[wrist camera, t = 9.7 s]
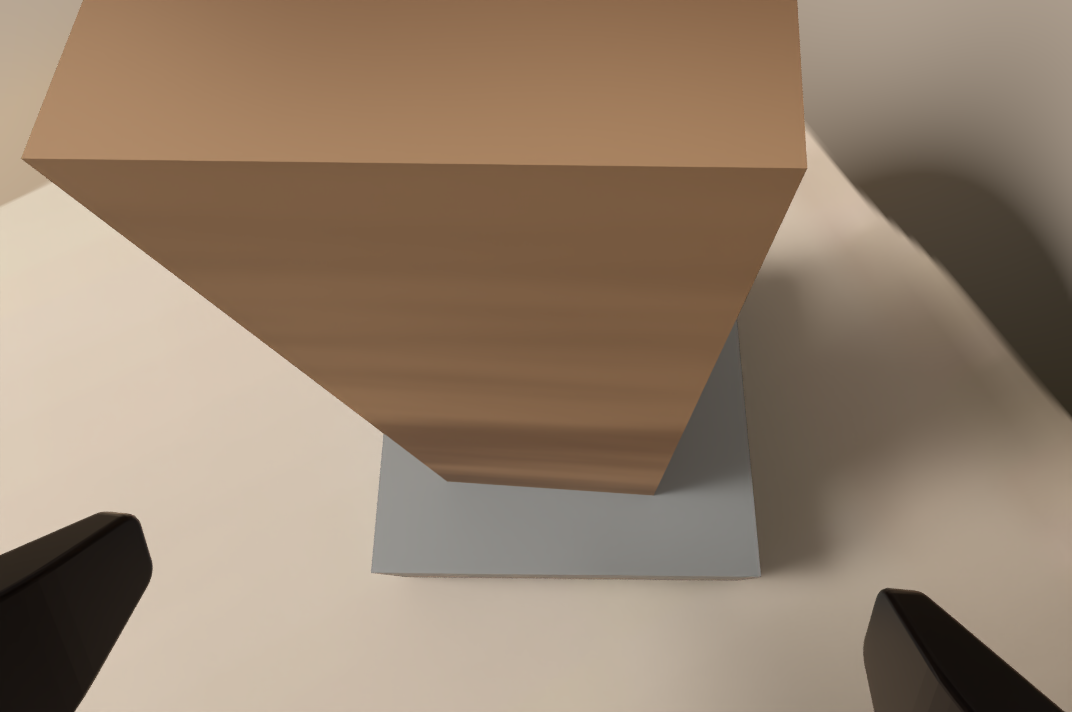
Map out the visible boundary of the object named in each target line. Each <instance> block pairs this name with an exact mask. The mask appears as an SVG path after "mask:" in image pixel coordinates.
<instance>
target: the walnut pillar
mask: <svg viewBox="0 0 1072 712" xmlns="http://www.w3.org/2000/svg"><path fill="white" fill-rule="evenodd" d="M801 75H802V74H801V58H800V41H799V24H798V7H797V0H83V2H82V5H81V7H80V10H79V12H78V15H77V17H76V20H75V22H74V25H73V27H72V30H71V33H70V35H69V38H68V40H67V43H66V45H65V48H64V51H63V53H62V55H61V58H60V61H59V63H58V66H57V68H56V71H55V73H54V76H53V78H52V81H51V84H50V86H49V89H48V91H47V94H46V97H45V99H44V101H43V104H42V107H41V109H40V112H39V114H38V117H37V119H36V122H35V124H34V127H33V129H32V132H31V135H30V137H29V140H28V142H27V145H26V148H25V150H24V153H23V155H22V158H21V159H22V160H24V161H25V162H26V163H28V164H29V165H31V166H32V167H33V168H34V169H36V170H37V171H39V172H40V173H41V174H42V175H44V176H45V177H46V178H48V179H49V180H50V181H51V182H53V183H54V184H55V185H57V186H58V187H59V188H61V189H62V190H63V191H65V192H66V193H67V194H69V195H70V196H71V197H73V198H74V199H75V200H77V201H78V202H79V203H80V204H82V205H83V206H84V207H86V208H87V209H88V210H90V211H91V212H92V213H94V214H95V215H96V216H98V217H99V218H100V219H102V220H103V221H104V222H106V223H107V224H108V225H109V226H111V227H112V228H113V229H115V230H116V231H117V232H119V233H120V234H121V235H123V236H124V237H125V238H127V239H128V240H129V241H131V242H132V243H133V244H135V245H136V246H137V247H138V248H140V249H141V250H142V251H144V252H145V253H146V254H148V255H149V256H150V257H152V258H153V259H154V260H156V261H157V262H158V263H160V264H161V265H162V266H164V267H165V268H166V269H168V270H169V271H170V272H171V273H173V274H174V275H175V276H177V277H178V278H179V279H181V280H182V281H183V282H185V283H186V284H187V285H189V286H190V287H191V288H193V289H194V290H195V291H197V292H198V293H199V294H200V295H202V296H203V297H204V298H206V299H207V300H208V301H210V302H211V303H212V304H214V305H215V306H216V307H218V308H219V309H220V310H222V311H223V312H224V313H226V314H227V315H228V316H229V317H231V318H232V319H233V320H235V321H236V322H237V323H239V324H240V325H241V326H243V327H244V328H245V329H247V330H248V331H249V332H251V333H252V334H253V335H255V336H256V337H257V338H259V339H260V340H261V341H262V342H264V343H265V344H266V345H268V346H269V347H270V348H272V349H273V350H274V351H276V352H277V353H278V354H280V355H281V356H282V357H284V358H285V359H286V360H288V361H289V362H290V363H291V364H293V365H294V366H295V367H297V368H298V369H299V370H301V371H302V372H303V373H305V374H306V375H307V376H309V377H310V378H311V379H313V380H314V381H315V382H317V383H318V384H319V385H320V386H322V387H323V388H324V389H326V390H327V391H328V392H330V393H331V394H332V395H334V396H335V397H336V398H338V399H339V400H340V401H342V402H343V403H344V404H346V405H347V406H348V407H350V408H351V409H352V410H353V411H355V412H356V413H357V414H359V415H360V416H361V417H363V418H364V419H365V420H367V421H368V422H369V423H371V424H372V425H373V426H375V427H376V428H377V429H379V430H380V431H381V432H382V433H384V434H385V435H386V436H388V437H389V438H390V439H392V440H393V441H394V442H396V443H397V444H398V445H400V446H401V447H402V448H404V449H405V450H406V451H408V452H409V453H410V454H411V455H413V456H414V457H415V458H417V459H418V460H419V461H421V462H422V463H423V464H425V465H426V466H427V467H429V468H430V469H431V470H433V471H434V472H435V473H437V474H438V475H439V476H440V477H442V478H443V479H444V480H446V481H447V482H461V483H476V484H491V485H506V486H520V487H535V488H550V489H564V490H579V491H594V492H609V493H623V494H638V495H653V496H654V494H655V491H656V489H657V487H658V485H659V483H660V481H661V479H662V477H663V474H664V472H665V470H666V468H667V466H668V464H669V462H670V460H671V457H672V455H673V453H674V451H675V449H676V447H677V445H678V442H679V440H680V438H681V436H682V434H683V432H684V430H685V428H686V425H687V423H688V421H689V419H690V417H691V415H692V413H693V410H694V408H695V406H696V404H697V402H698V400H699V398H700V396H701V393H702V391H703V389H704V387H705V385H706V383H707V381H708V379H709V376H710V374H711V372H712V370H713V368H714V366H715V364H716V361H717V359H718V357H719V355H720V353H721V351H722V349H723V347H724V344H725V342H726V340H727V338H728V336H729V334H730V332H731V329H732V327H733V325H734V323H735V321H736V319H737V317H738V315H739V312H740V310H741V308H742V306H743V304H744V302H745V300H746V298H747V295H748V293H749V291H750V289H751V287H752V285H753V283H754V280H755V278H756V276H757V274H758V272H759V270H760V268H761V266H762V263H763V261H764V259H765V257H766V255H767V253H768V251H769V248H770V246H771V244H772V242H773V240H774V238H775V236H776V234H777V231H778V229H779V227H780V225H781V223H782V221H783V219H784V217H785V214H786V212H787V210H788V208H789V206H790V204H791V202H792V199H793V197H794V195H795V193H796V191H797V189H798V187H799V185H800V182H801V180H802V178H803V176H804V174H805V172H806V170H807V158H806V141H805V124H804V107H803V91H802V76H801Z"/></svg>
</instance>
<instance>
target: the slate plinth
mask: <svg viewBox="0 0 1072 712" xmlns="http://www.w3.org/2000/svg"><path fill="white" fill-rule="evenodd" d="M371 573H377V574H386V575H394V576H402V577H460V578H553V579H645V580H743V579H750V578H756V577H761V571H760V560H759V549H758V539H757V528H756V517H755V507H754V496H753V485H752V475H751V464H750V454H749V443H748V432H747V422H746V411H745V400H744V390H743V379H742V368H741V358H740V347H739V336H738V326H737V319H736V321H735V323H734V325H733V327H732V329H731V332H730V334H729V336H728V338H727V340H726V342H725V344H724V347H723V349H722V351H721V353H720V355H719V357H718V359H717V361H716V364H715V366H714V368H713V370H712V372H711V374H710V376H709V379H708V381H707V383H706V385H705V387H704V389H703V391H702V393H701V396H700V398H699V400H698V402H697V404H696V406H695V408H694V410H693V413H692V415H691V417H690V419H689V421H688V423H687V425H686V428H685V430H684V432H683V434H682V436H681V438H680V440H679V442H678V445H677V447H676V449H675V451H674V453H673V455H672V457H671V460H670V462H669V464H668V466H667V468H666V470H665V472H664V474H663V477H662V479H661V481H660V483H659V485H658V487H657V489H656V491H655V494H654V496H653V495H638V494H623V493H609V492H594V491H579V490H564V489H550V488H535V487H520V486H506V485H491V484H476V483H461V482H447V481H446V480H444V479H443V478H442V477H440V476H439V475H438V474H437V473H435V472H434V471H433V470H431V469H430V468H429V467H427V466H426V465H425V464H423V463H422V462H421V461H419V460H418V459H417V458H415V457H414V456H413V455H411V454H410V453H409V452H408V451H406V450H405V449H404V448H402V447H401V446H400V445H398V444H397V443H396V442H394V441H393V440H392V439H390V438H389V437H388V436H386V435H385V434H384V436H383V447H382V458H381V469H380V480H379V491H378V502H377V513H376V524H375V535H374V546H373V557H372V568H371Z"/></svg>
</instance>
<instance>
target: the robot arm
mask: <svg viewBox="0 0 1072 712" xmlns="http://www.w3.org/2000/svg"><path fill="white" fill-rule="evenodd" d="M152 570H153V565H152V560H151V557H150V553H149V550H148V547H147V543H146V540H145V537H144V533H143V530H142V527H141V524H140V521H139V520H138V519H137V518H136V517H135V516H134V515H131V514H127V513H117V512H100V513H97V514H94V515H92V516H90V517H87V518H85V519H83V520H80V521H78V522H76V523H73V524H71V525H69V526H66V527H64V528H62V529H60V530H57V531H55V532H53V533H50V534H48V535H46V536H43V537H41V538H39V539H36V540H34V541H32V542H29V543H27V544H25V545H23V546H20V547H18V548H16V549H13V550H11V551H9V552H6V553H4V554H2V555H0V712H75V710H76V709H77V707H78V706H79V704H80V703H81V701H82V700H83V698H84V697H85V695H86V693H87V692H88V690H89V688H90V687H91V685H92V683H93V681H94V680H95V678H96V676H97V675H98V673H99V671H100V669H101V668H102V666H103V664H104V662H105V661H106V659H107V657H108V655H109V653H110V652H111V650H112V648H113V646H114V645H115V643H116V641H117V639H118V638H119V636H120V634H121V632H122V630H123V629H124V627H125V625H126V623H127V622H128V620H129V618H130V616H131V615H132V613H133V611H134V609H135V607H136V606H137V604H138V602H139V600H140V599H141V597H142V595H143V593H144V592H145V590H146V588H147V586H148V584H149V582H150V579H151V576H152ZM863 655H864V664H865V669H866V674H867V679H868V683H869V688H870V693H871V698H872V703H873V708H874V712H1064V711H1063V710H1062V709H1061V708H1059V707H1058V706H1057V705H1056V704H1055V703H1054V702H1052V701H1051V700H1050V699H1049V698H1048V697H1046V696H1045V695H1044V694H1043V693H1042V692H1041V691H1039V690H1038V689H1037V688H1036V687H1035V686H1033V685H1032V684H1031V683H1030V682H1029V681H1027V680H1026V679H1025V678H1024V677H1023V676H1022V675H1020V674H1019V673H1018V672H1017V671H1016V670H1014V669H1013V668H1012V667H1011V666H1010V665H1009V664H1007V663H1006V662H1005V661H1004V660H1003V659H1001V658H1000V657H999V656H998V655H997V654H995V653H994V652H993V651H992V650H991V649H990V648H988V647H987V646H986V645H985V644H984V643H982V642H981V641H980V640H979V639H978V638H977V637H975V636H974V635H973V634H972V633H971V632H969V631H968V630H967V629H966V628H965V627H963V626H962V625H961V624H960V623H959V622H958V621H956V620H955V619H954V618H953V617H952V616H950V615H949V614H948V613H947V612H946V611H945V610H943V609H942V608H941V607H940V606H939V605H937V604H936V603H935V602H934V601H933V600H931V599H930V598H929V597H928V596H926V595H925V594H923V593H921V592H919V591H914V590H903V589H893V588H886V589H883V590H881V591H880V592H879V594H878V596H877V598H876V601H875V605H874V608H873V612H872V615H871V619H870V622H869V626H868V629H867V633H866V636H865V640H864V647H863Z"/></svg>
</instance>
